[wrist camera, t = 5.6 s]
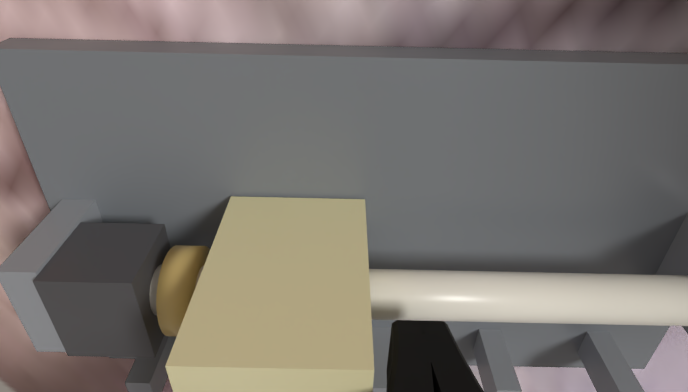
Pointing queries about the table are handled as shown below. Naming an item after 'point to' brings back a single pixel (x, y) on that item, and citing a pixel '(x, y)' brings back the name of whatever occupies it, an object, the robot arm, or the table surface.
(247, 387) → the cream block on rod
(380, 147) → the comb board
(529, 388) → the table surface
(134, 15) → the table surface
